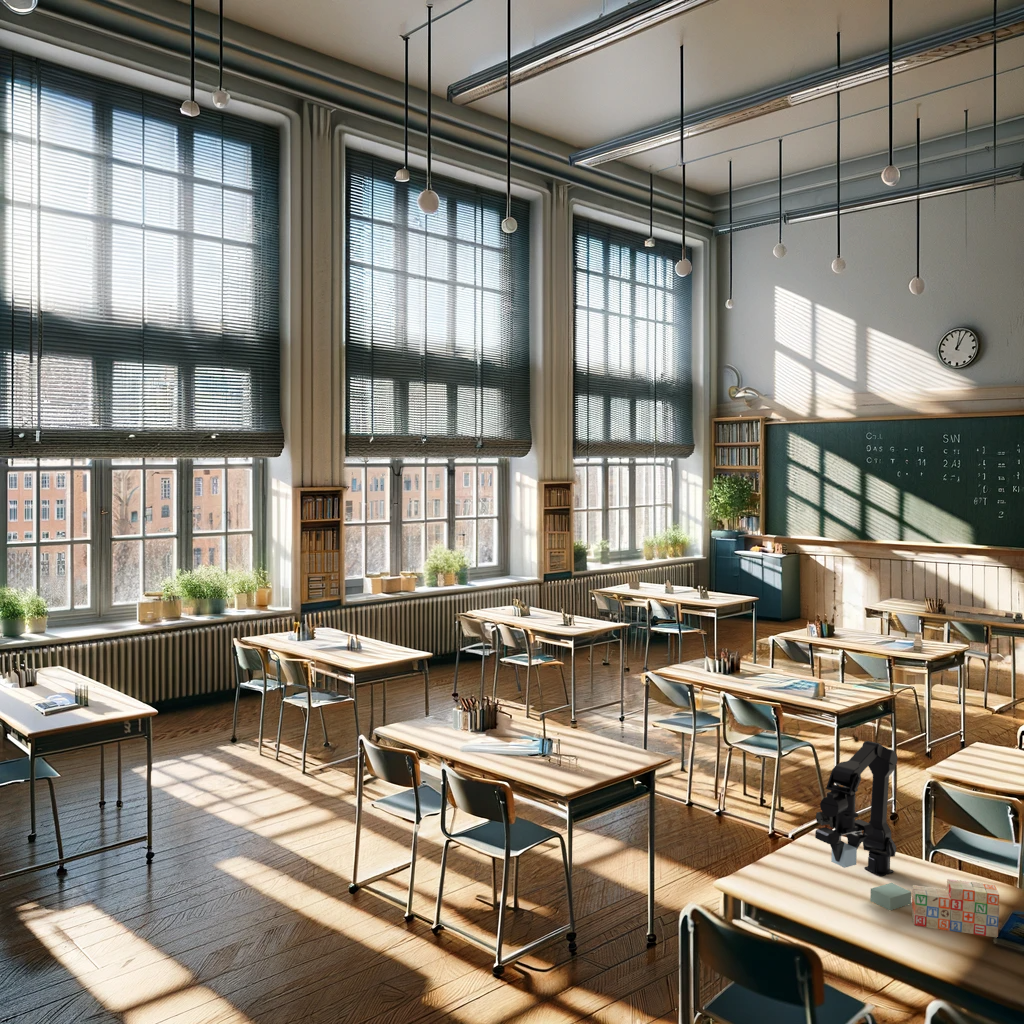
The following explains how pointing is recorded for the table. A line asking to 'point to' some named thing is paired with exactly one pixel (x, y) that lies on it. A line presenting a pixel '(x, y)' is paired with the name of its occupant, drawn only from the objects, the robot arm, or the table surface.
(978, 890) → the stack of blocks
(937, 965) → the table surface
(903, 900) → the pale green block
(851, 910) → the table surface
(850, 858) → the cube
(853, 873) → the table surface
